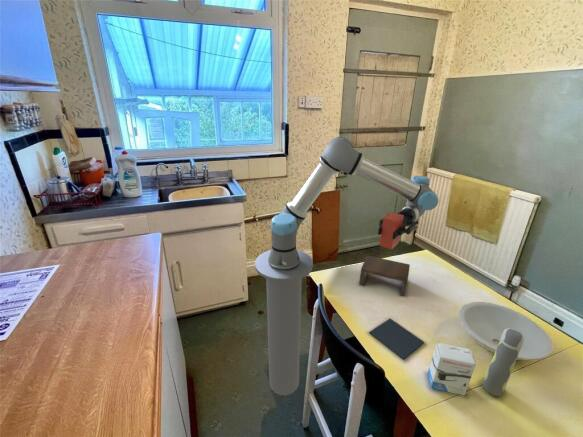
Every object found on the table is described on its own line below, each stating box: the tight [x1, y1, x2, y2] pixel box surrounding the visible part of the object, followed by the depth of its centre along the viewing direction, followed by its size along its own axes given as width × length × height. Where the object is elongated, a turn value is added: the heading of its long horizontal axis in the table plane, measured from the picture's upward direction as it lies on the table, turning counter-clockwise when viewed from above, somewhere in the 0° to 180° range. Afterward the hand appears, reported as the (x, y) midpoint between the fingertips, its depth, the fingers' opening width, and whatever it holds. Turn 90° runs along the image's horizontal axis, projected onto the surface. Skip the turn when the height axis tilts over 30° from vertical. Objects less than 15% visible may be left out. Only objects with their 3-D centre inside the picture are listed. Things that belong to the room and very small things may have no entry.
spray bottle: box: [481, 328, 524, 397], centre depth 73 cm, size 5×5×20 cm
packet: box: [379, 211, 404, 251], centre depth 112 cm, size 5×8×12 cm, turn 141°
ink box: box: [427, 342, 477, 396], centre depth 76 cm, size 8×5×12 cm, turn 76°
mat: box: [369, 318, 425, 361], centre depth 93 cm, size 13×11×1 cm
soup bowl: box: [458, 301, 554, 361], centre depth 91 cm, size 24×24×7 cm
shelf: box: [358, 255, 411, 297], centre depth 120 cm, size 18×12×8 cm, turn 66°
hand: (386, 233), depth 108 cm, fingers closed on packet, 5 cm apart
